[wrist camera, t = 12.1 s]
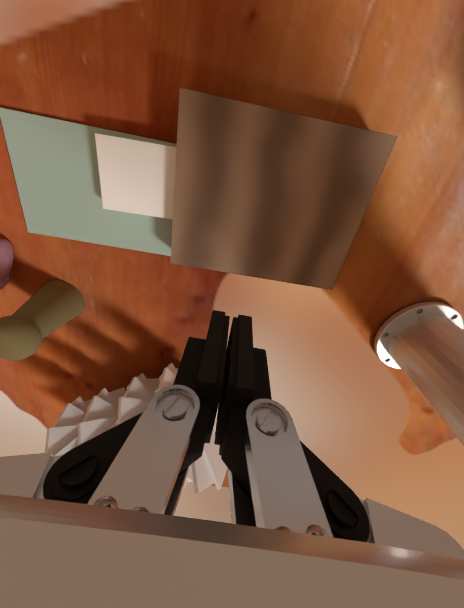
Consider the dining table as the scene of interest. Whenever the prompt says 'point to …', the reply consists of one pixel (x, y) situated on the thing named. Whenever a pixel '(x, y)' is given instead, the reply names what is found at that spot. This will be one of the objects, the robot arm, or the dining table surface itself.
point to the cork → (38, 319)
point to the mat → (73, 185)
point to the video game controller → (5, 261)
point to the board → (269, 189)
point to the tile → (136, 176)
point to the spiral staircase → (118, 408)
